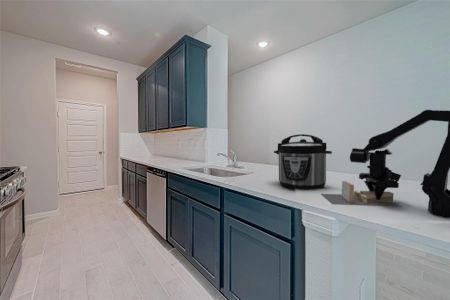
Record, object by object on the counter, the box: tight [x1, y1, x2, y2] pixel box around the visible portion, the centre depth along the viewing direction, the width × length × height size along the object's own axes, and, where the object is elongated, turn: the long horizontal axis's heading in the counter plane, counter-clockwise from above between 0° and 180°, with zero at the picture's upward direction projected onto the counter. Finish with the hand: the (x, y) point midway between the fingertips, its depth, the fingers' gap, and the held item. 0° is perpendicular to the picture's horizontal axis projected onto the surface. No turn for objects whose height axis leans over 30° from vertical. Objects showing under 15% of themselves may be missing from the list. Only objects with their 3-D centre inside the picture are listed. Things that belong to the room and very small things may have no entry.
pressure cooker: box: [273, 134, 333, 190], centre depth 121 cm, size 30×28×32 cm
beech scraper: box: [354, 190, 394, 204], centre depth 89 cm, size 9×13×4 cm
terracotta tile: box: [341, 180, 355, 203], centre depth 90 cm, size 8×2×8 cm, turn 171°
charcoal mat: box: [320, 193, 403, 208], centre depth 91 cm, size 16×27×1 cm, turn 81°
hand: (376, 198), depth 89 cm, fingers closed on beech scraper, 3 cm apart
